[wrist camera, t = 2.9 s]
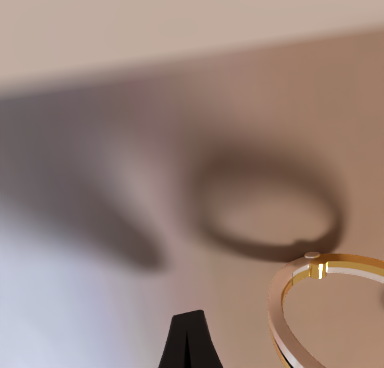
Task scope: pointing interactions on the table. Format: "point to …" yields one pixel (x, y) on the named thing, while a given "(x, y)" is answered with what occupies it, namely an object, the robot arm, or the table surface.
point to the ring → (297, 270)
